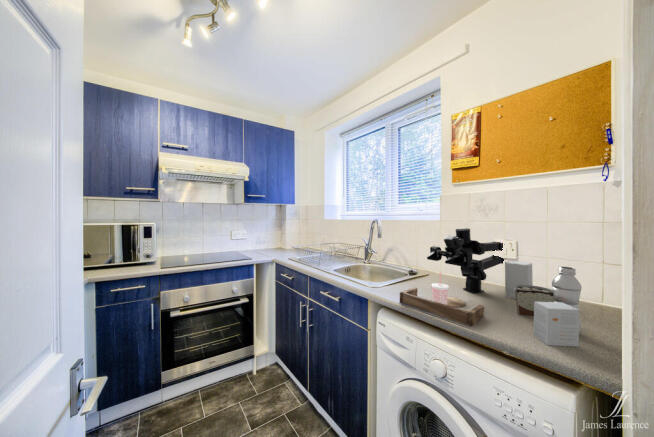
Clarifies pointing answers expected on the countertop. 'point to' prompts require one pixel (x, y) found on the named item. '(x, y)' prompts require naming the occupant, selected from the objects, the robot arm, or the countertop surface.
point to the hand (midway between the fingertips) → (435, 260)
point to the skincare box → (517, 276)
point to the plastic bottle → (567, 288)
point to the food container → (531, 298)
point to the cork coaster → (455, 302)
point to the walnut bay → (442, 308)
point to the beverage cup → (440, 292)
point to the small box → (556, 323)
